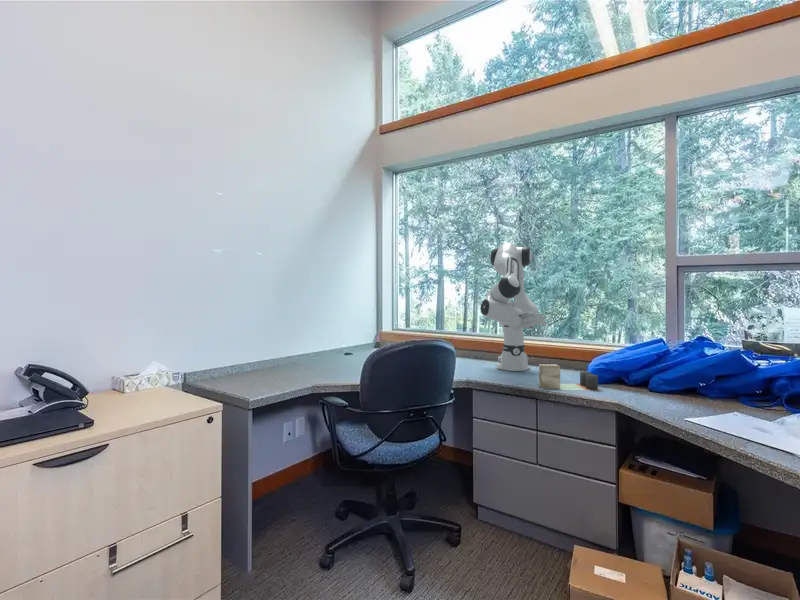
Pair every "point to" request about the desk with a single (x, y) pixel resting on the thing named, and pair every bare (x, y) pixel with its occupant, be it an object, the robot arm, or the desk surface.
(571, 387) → the lane mat
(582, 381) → the post
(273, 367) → the desk surface
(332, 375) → the desk surface
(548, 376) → the birch block
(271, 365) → the desk surface
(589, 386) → the post
